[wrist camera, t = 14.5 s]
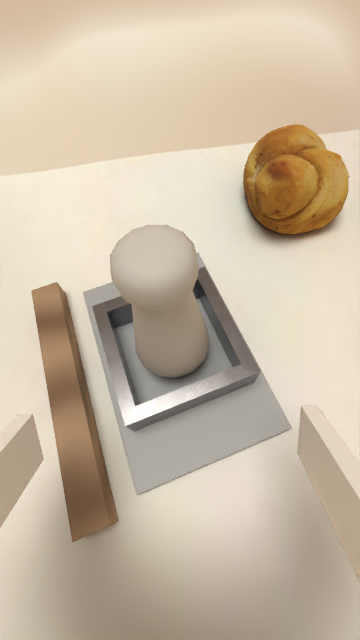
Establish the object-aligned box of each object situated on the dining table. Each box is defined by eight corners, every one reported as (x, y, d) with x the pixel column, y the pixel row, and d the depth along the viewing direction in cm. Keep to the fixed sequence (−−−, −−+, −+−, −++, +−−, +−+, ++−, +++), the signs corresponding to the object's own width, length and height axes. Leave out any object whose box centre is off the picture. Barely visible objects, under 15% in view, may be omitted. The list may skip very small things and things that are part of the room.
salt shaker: (174, 309, 27) (154, 187, 15) (222, 349, 25) (241, 242, 13) (126, 354, 25) (63, 253, 14) (174, 400, 23) (147, 329, 11)
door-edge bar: (41, 301, 29) (31, 290, 27) (65, 293, 29) (56, 282, 27) (84, 535, 20) (72, 541, 18) (117, 520, 20) (109, 525, 18)
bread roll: (230, 170, 36) (238, 96, 29) (309, 161, 36) (336, 84, 29) (251, 250, 30) (267, 182, 23) (346, 239, 30) (390, 168, 23)
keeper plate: (85, 295, 29) (70, 273, 26) (198, 256, 30) (197, 231, 27) (138, 494, 21) (127, 498, 18) (289, 428, 22) (304, 421, 19)
